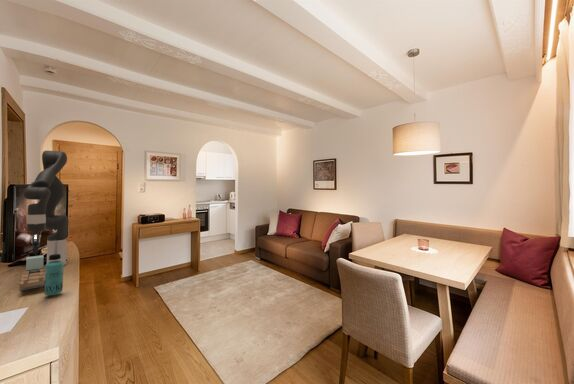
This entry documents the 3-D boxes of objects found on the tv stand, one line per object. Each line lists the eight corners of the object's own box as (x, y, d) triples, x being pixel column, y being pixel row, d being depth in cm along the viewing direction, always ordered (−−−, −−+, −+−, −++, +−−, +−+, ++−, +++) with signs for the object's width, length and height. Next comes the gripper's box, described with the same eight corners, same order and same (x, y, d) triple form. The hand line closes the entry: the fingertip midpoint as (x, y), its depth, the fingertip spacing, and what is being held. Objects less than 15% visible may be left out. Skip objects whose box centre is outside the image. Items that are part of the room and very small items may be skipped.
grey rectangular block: (26, 270, 131) (26, 257, 131) (43, 268, 135) (43, 255, 135) (25, 273, 127) (26, 259, 127) (43, 270, 132) (43, 257, 132)
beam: (21, 282, 131) (21, 268, 131) (47, 278, 138) (47, 264, 138) (17, 297, 114) (18, 281, 114) (47, 291, 121) (47, 276, 121)
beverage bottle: (41, 296, 115) (42, 255, 115) (59, 291, 121) (60, 252, 121) (47, 300, 112) (48, 257, 112) (65, 294, 118) (66, 254, 118)
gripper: (27, 221, 138) (26, 252, 138) (25, 224, 128) (24, 256, 128) (45, 220, 143) (44, 250, 143) (45, 223, 134) (44, 254, 134)
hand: (35, 253), depth 136 cm, fingers closed
